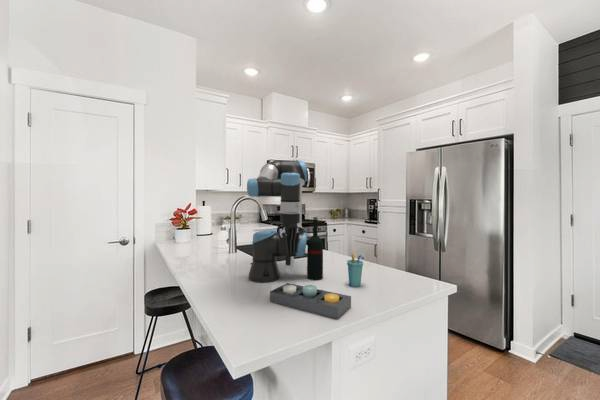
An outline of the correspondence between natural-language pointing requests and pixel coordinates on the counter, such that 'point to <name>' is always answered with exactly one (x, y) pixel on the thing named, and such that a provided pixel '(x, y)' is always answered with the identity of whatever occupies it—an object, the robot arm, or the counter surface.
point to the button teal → (310, 291)
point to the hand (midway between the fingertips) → (289, 272)
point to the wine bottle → (315, 254)
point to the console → (311, 302)
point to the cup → (355, 271)
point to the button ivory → (289, 288)
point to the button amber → (331, 298)
